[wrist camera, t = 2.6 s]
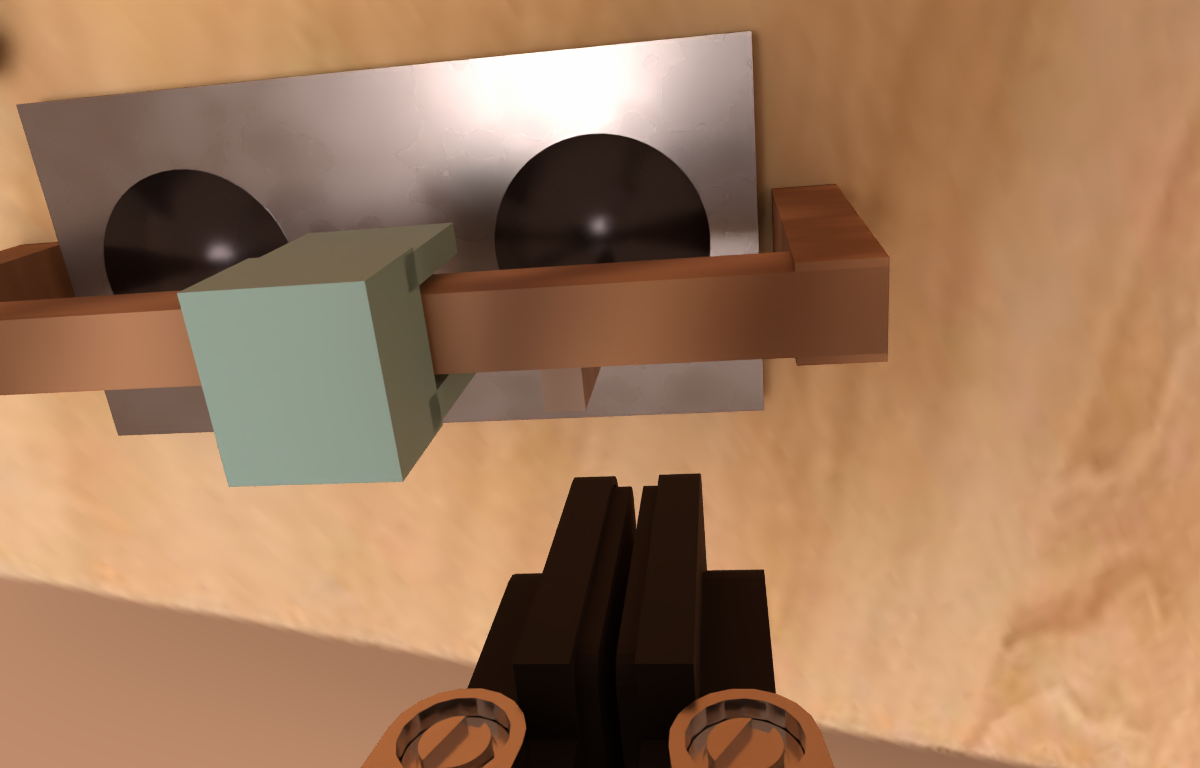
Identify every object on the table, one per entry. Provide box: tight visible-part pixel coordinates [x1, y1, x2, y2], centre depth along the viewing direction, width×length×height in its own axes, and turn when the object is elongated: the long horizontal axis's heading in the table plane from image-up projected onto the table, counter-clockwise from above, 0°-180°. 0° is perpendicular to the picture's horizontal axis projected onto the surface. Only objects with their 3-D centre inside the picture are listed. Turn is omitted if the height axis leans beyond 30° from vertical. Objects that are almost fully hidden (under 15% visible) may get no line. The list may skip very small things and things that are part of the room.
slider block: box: [177, 223, 476, 487], centre depth 24 cm, size 4×4×12 cm
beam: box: [0, 184, 889, 412], centre depth 27 cm, size 29×3×10 cm, turn 95°
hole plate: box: [16, 31, 764, 436], centre depth 31 cm, size 24×12×1 cm, turn 95°
